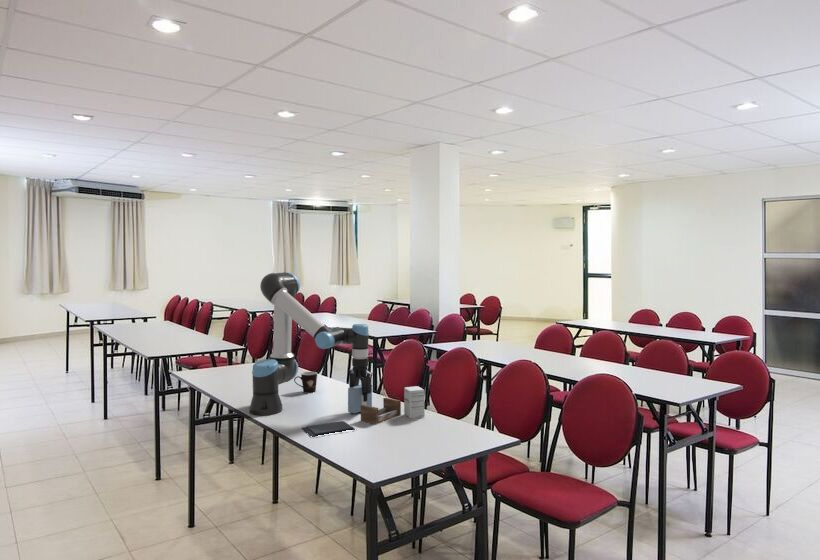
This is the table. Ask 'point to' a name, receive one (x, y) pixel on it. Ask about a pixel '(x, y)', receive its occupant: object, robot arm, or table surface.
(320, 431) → the wallet
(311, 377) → the coffee mug
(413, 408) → the supplement box
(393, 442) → the table surface
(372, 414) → the track frame
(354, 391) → the blue-grey rectangular block
